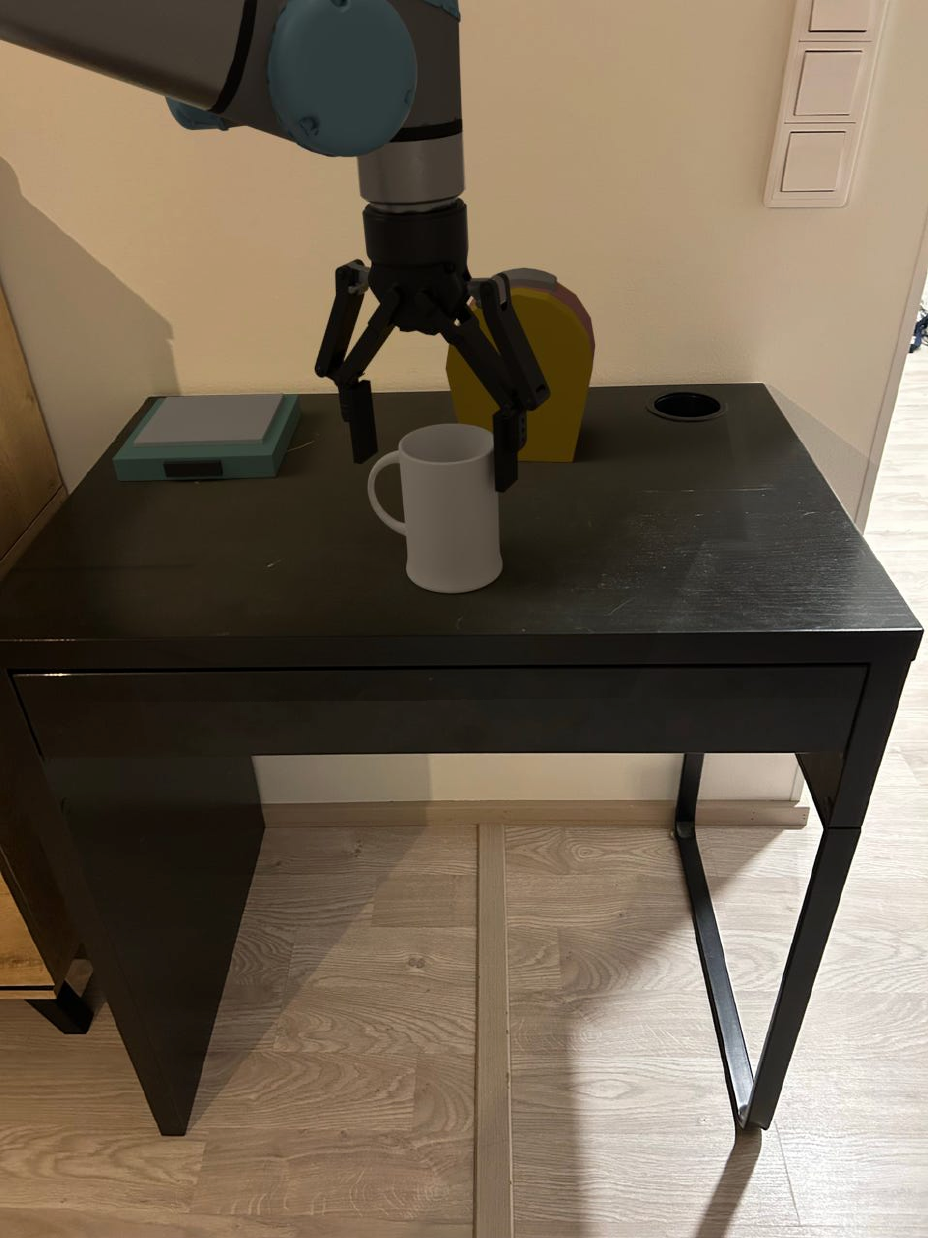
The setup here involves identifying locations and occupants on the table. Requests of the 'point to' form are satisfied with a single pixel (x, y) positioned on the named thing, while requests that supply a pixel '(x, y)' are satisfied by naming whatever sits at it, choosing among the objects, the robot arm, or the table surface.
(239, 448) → the scale
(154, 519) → the table surface
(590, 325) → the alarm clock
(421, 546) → the mug
